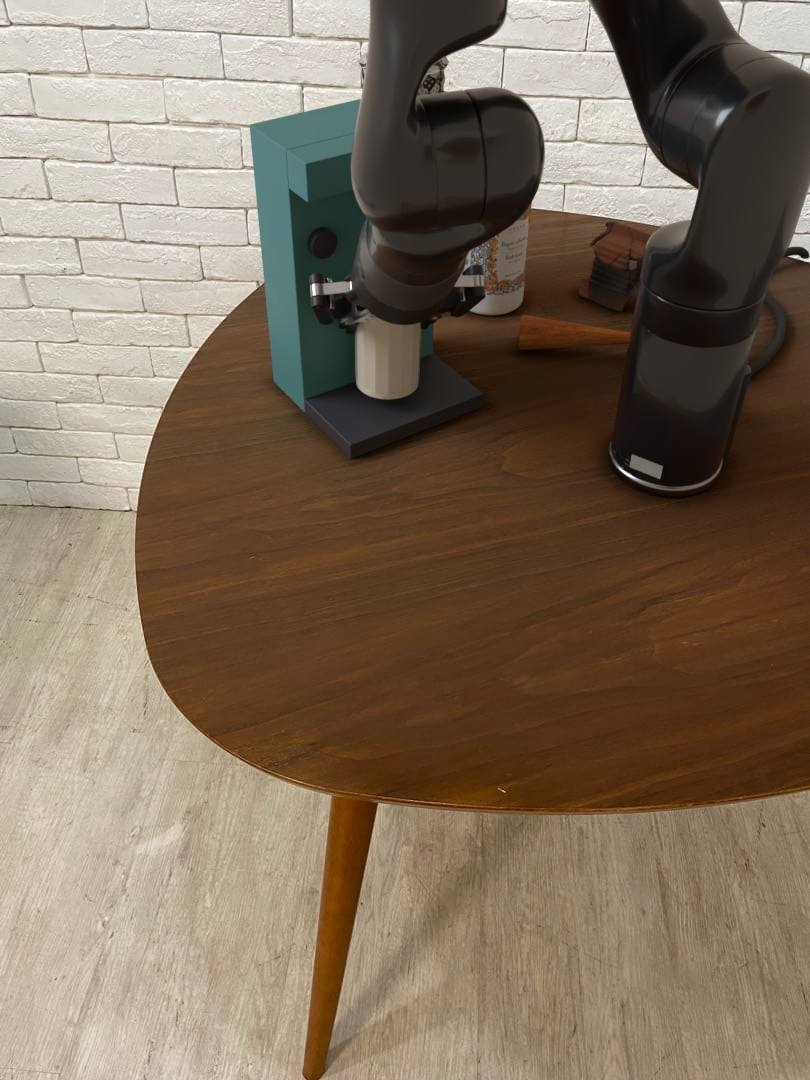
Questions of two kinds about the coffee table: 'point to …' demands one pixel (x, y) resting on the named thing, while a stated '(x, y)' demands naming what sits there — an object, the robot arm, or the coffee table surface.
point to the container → (387, 358)
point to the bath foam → (503, 267)
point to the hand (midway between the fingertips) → (385, 320)
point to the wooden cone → (565, 334)
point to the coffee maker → (329, 248)
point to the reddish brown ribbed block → (615, 266)
